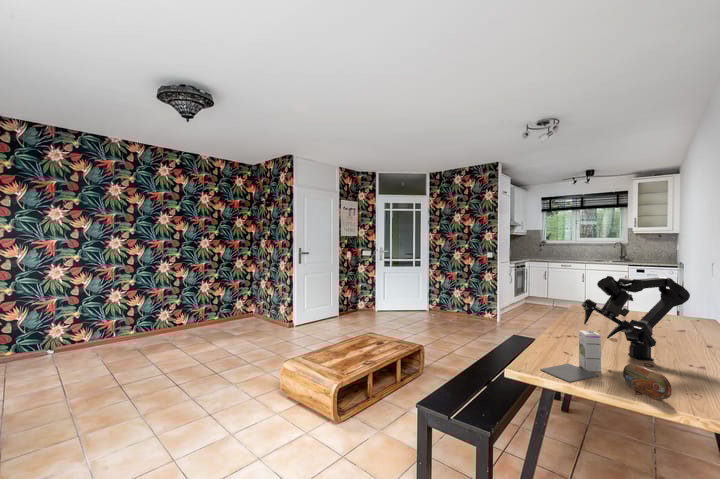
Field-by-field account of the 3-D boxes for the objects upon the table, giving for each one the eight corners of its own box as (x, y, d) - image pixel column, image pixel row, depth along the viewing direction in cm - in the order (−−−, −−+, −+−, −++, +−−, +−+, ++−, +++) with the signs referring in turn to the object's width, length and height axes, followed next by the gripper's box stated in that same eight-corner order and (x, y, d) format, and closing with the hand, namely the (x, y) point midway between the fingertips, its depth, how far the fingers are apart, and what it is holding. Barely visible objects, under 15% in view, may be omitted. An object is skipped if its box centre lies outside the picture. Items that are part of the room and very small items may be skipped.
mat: (568, 364, 135) (568, 363, 135) (598, 375, 124) (598, 374, 124) (540, 370, 129) (540, 369, 129) (569, 382, 118) (569, 381, 118)
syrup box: (601, 372, 127) (602, 334, 127) (584, 370, 128) (585, 333, 128) (594, 366, 133) (594, 330, 133) (578, 365, 134) (578, 329, 134)
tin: (622, 383, 117) (622, 360, 117) (630, 383, 117) (630, 359, 117) (664, 405, 102) (664, 378, 102) (673, 404, 102) (673, 377, 102)
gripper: (598, 284, 138) (577, 314, 137) (648, 312, 129) (627, 344, 128) (591, 291, 148) (571, 318, 146) (637, 317, 139) (616, 346, 137)
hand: (595, 331), depth 139 cm, fingers open, 9 cm apart
